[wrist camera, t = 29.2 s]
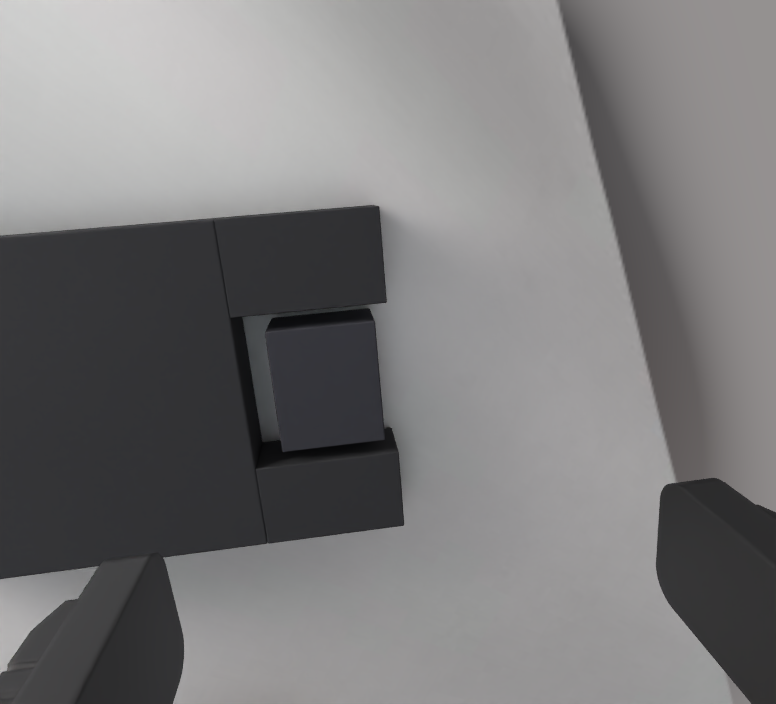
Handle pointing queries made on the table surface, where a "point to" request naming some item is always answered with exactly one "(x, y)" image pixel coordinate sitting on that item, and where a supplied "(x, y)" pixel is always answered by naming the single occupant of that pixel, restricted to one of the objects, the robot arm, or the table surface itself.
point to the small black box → (325, 379)
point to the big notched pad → (172, 389)
